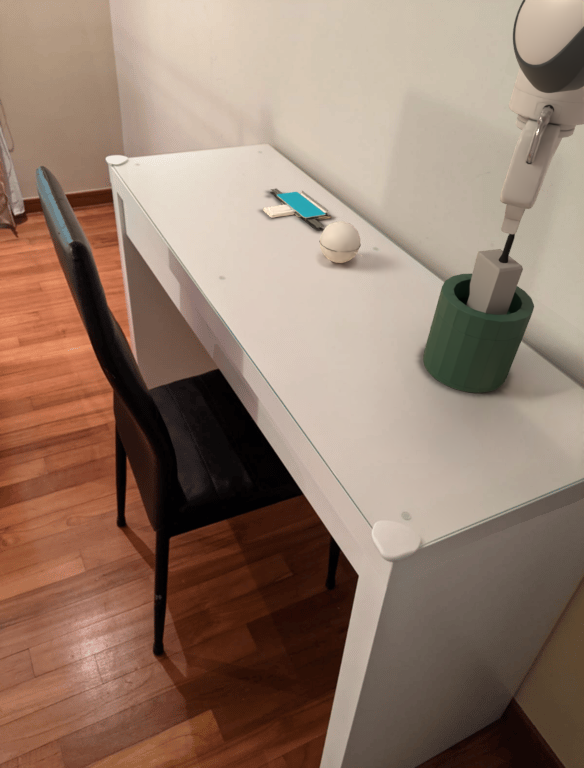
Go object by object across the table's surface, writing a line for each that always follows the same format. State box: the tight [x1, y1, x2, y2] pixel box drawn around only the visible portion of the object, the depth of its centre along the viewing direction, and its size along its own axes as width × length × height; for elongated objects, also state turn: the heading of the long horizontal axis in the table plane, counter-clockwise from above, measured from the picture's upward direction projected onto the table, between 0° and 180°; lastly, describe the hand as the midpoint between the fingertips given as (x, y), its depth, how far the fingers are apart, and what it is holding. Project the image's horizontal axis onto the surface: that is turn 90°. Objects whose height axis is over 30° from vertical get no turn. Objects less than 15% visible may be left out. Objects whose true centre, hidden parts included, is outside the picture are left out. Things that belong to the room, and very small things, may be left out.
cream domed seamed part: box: [319, 220, 364, 264], centre depth 109 cm, size 10×7×7 cm
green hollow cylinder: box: [422, 273, 535, 394], centre depth 86 cm, size 12×12×12 cm
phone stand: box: [262, 188, 332, 232], centre depth 127 cm, size 20×12×2 cm, turn 30°
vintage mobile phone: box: [466, 233, 524, 315], centre depth 81 cm, size 4×5×25 cm
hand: (514, 217), depth 75 cm, fingers open, 8 cm apart
